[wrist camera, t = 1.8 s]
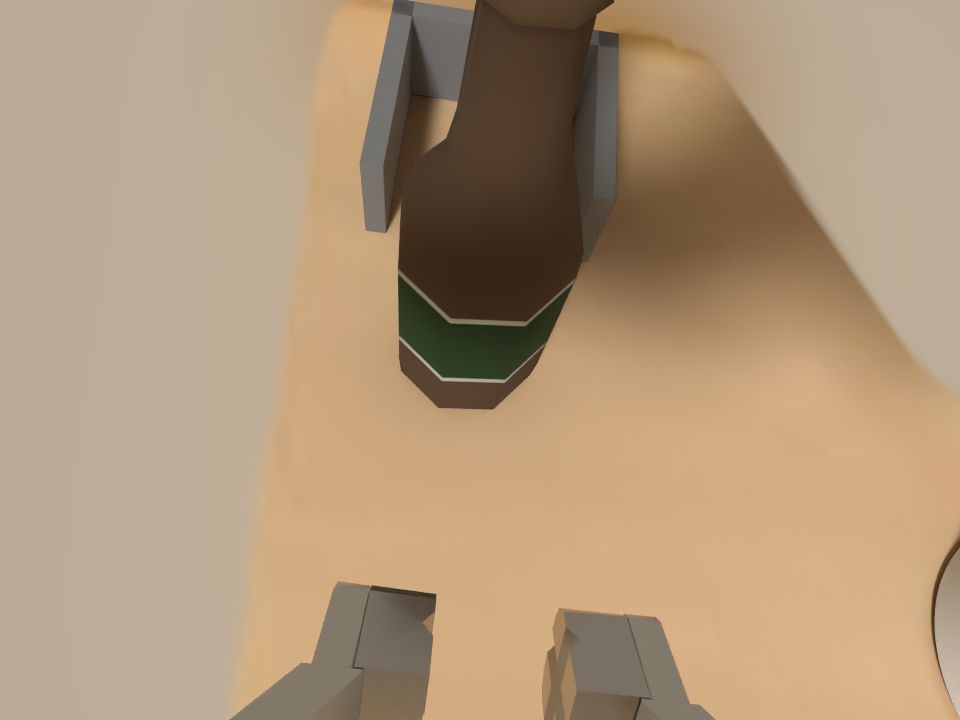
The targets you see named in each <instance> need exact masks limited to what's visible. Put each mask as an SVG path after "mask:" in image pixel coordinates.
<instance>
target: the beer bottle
mask: <svg viewBox="0 0 960 720" xmlns="http://www.w3.org/2000/svg"><path fill="white" fill-rule="evenodd" d="M612 3H614V0H476V5H475V10H474V16H473V21H472V27H471V32H470V38H469V43H468V49H467V55H466V60H465V66H464V71H463V77H462V82H461V88H460V93H459V99H458V104H457V110H456V112H455V115H454V118H453V121H452V124H451V127H450V129H449V132H448V135H447V138H446V139H445V140H443V141H442V142H440V143H439V144H438V145H436V146H435V147H433V148H432V149H431V150H429V151H428V152H426V153H425V154H424V155H422V156H421V157H419V158H418V159H417V161H416V162H415V164H414V165H413V167H412V169H411V170H410V172H409V173H408V175H407V176H406V178H405V180H404V186H403V195H402V203H401V219H400V240H399V260H398V301H399V360H400V366H401V371H402V372H403V373H404V374H405V375H406V376H407V377H408V378H409V379H410V380H411V381H412V382H413V383H414V384H415V385H416V386H417V387H418V388H419V389H420V390H421V391H422V392H423V393H424V394H425V395H426V396H427V397H428V398H429V399H430V400H431V401H432V402H433V403H434V404H435V405H436V406H437V407H438V408H463V409H494V408H495V407H496V406H497V405H498V404H499V403H500V402H501V401H503V400H504V399H505V398H506V397H507V396H508V395H509V394H510V393H511V392H512V391H513V390H514V389H515V388H516V387H517V386H519V385H520V384H521V383H522V382H523V381H524V380H525V379H526V378H527V377H528V376H529V375H530V374H531V372H532V371H533V369H534V367H535V366H536V364H537V363H538V360H539V358H540V356H541V354H542V352H543V349H544V347H545V345H546V343H547V341H548V338H549V336H550V334H551V332H552V330H553V327H554V325H555V323H556V321H557V319H558V316H559V314H560V312H561V310H562V308H563V305H564V303H565V301H566V299H567V297H568V294H569V292H570V290H571V288H572V286H573V284H574V281H575V279H576V277H577V273H578V270H579V267H580V263H581V260H582V256H583V253H584V248H583V235H582V222H581V210H580V197H579V187H578V180H577V173H576V168H575V167H574V165H573V164H572V162H571V161H570V160H569V158H568V157H567V155H566V154H565V151H566V146H567V142H568V137H569V133H570V129H571V124H572V120H573V116H574V111H575V107H576V102H577V98H578V94H579V89H580V85H581V81H582V76H583V72H584V67H585V63H586V59H587V54H588V50H589V46H590V41H591V37H592V32H593V28H594V24H595V19H596V15H597V14H598V13H600V12H601V11H602V10H604V9H605V8H607V7H608V6H610V5H611V4H612Z"/></svg>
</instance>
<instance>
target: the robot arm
mask: <svg viewBox="0 0 960 720" xmlns="http://www.w3.org/2000/svg"><path fill="white" fill-rule="evenodd" d="M435 606H436V594H431V593H424V592H417V591H409V590H402V589H395V588H387V587H380V586H373V585H372V586H369V585H361V584H354V583H346V582H337V584H336V585H335V587H334V589H333V592H332V596H331V599H330V603H329V606H328V609H327V613H326V616H325V620H324V623H323V627H322V630H321V633H320V637H319V640H318V644H317V647H316V650H315V654H314V657H313V661H312V664H307V663H301V664H299V665H298V666H297V667H296V668H294V669H293V670H292V671H290V672H289V673H288V674H287V675H285V676H284V677H283V678H282V679H280V680H279V681H278V682H277V683H275V684H274V685H273V686H272V687H270V688H269V689H268V690H266V691H265V692H264V693H263V694H261V695H260V696H259V697H258V698H256V699H255V700H254V701H253V702H251V703H250V704H249V705H248V706H246V707H245V708H244V709H242V710H241V711H240V712H239V713H237V714H236V715H235V716H234V717H232V718H231V719H230V720H422V715H423V714H424V711H425V704H426V696H427V689H428V682H429V675H430V664H431V653H432V643H433V635H432V630H433V623H434V616H435ZM553 635H554V643H555V646H554V647H553V648H551V649H550V650H549V651H548V652H547V656H546V661H545V666H544V674H543V685H542V704H543V715H544V719H545V720H715V719H714V718H713V717H712V716H711V715H710V714H709V713H708V712H707V711H706V710H705V709H704V708H703V707H702V706H700V705H695V704H690V702H689V699H688V697H687V694H686V691H685V688H684V685H683V683H682V680H681V677H680V674H679V671H678V669H677V666H676V663H675V660H674V658H673V655H672V652H671V649H670V646H669V644H668V641H667V638H666V635H665V633H664V630H663V627H662V624H661V622H660V621H659V620H658V619H657V618H656V617H649V616H638V615H627V614H624V615H619V614H610V613H600V612H591V611H581V610H572V609H562V608H559V610H558V612H557V614H556V617H555V621H554V625H553ZM935 639H936V647H937V653H938V658H939V663H940V667H941V671H942V675H943V678H944V681H945V684H946V687H947V690H948V692H949V695H950V698H951V700H952V702H953V704H954V707H955V709H956V711H957V713H958V715H959V717H960V548H959V549H958V551H957V552H956V553H955V554H954V556H953V557H952V559H951V560H950V562H949V564H948V566H947V568H946V570H945V572H944V574H943V577H942V579H941V583H940V586H939V590H938V594H937V599H936V607H935Z"/></svg>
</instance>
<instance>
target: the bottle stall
mask: <svg viewBox="0 0 960 720" xmlns="http://www.w3.org/2000/svg"><path fill="white" fill-rule="evenodd" d="M473 16H474V11H471V10H464V9H458V8H452V7H445V6H439V5H433V4H426V3H420V2H414V1H407V0H394V3H393V8H392V13H391V17H390V22H389V27H388V32H387V36H386V41H385V46H384V51H383V55H382V60H381V65H380V69H379V74H378V79H377V84H376V88H375V93H374V98H373V103H372V107H371V112H370V117H369V122H368V126H367V131H366V136H365V141H364V145H363V150H362V155H361V160H360V172H361V183H362V194H363V206H364V217H365V228H366V230H368V231H375V232H382V233H386V229H387V224H388V218H389V213H390V207H391V202H392V196H393V191H394V185H395V180H396V174H397V169H398V163H399V158H400V152H401V147H402V141H403V136H404V130H405V125H406V119H407V114H408V108H409V103H410V97H411V94H414V95H420V96H427V97H433V98H440V99H447V100H453V101H458V99H459V93H460V88H461V82H462V77H463V71H464V66H465V60H466V55H467V49H468V43H469V38H470V32H471V27H472V21H473ZM618 37H619V34H616V33H610V32H604V31H597V30H593V32H592V37H591V41H590V46H589V50H588V54H587V59H586V63H585V67H584V72H583V76H582V81H581V85H580V89H579V94H578V98H577V102H576V107H575V111H574V116H573V119H575V128H574V148H573V165H574V167H575V168H576V173H577V180H578V187H579V197H580V210H581V222H582V235H583V248H584V253H583V256H582V260H584V261H588V259H589V257H590V255H591V252H592V250H593V248H594V246H595V244H596V242H597V240H598V237H599V235H600V233H601V231H602V229H603V227H604V224H605V222H606V220H607V218H608V216H609V214H610V212H611V209H612V207H613V205H614V203H615V201H616V157H617V97H618Z"/></svg>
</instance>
